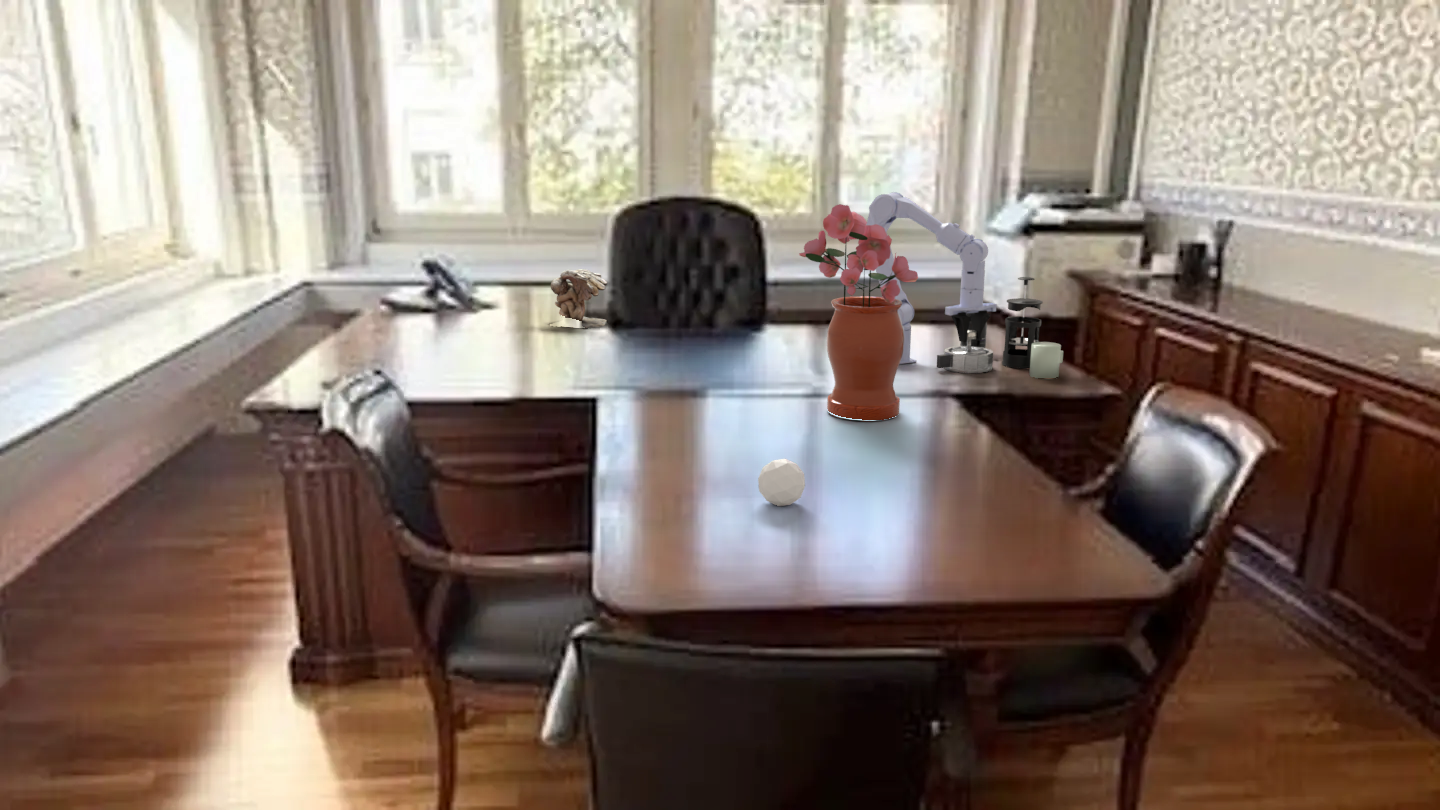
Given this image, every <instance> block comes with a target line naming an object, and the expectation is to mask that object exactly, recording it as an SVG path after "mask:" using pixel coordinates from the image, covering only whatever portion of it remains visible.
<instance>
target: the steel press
mask: <svg viewBox="0 0 1440 810" xmlns="http://www.w3.org/2000/svg"><path fill="white" fill-rule="evenodd" d="M958 348H967V346H960V345H955V346H949V347H946V348H944V352H943V354H937V355H936V368H937V369H945V370H946V371H948V372H952V371H953V373H958V372H959V373H960V374H969V373H976V374H983V373H982V372H986V373H989V372H991V371H992V369H993V363H994V351H993V350H992V349H990V348H987V347H986V348H983V347H974V346H971V348H973V349H980V350H984V351H986V354H981V355H963V354H956V353H952V352H951V350H953V349H958ZM990 370H991V371H990ZM988 371H989V372H988ZM959 373H958V374H959Z"/></svg>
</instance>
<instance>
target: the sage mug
mask: <svg viewBox="0 0 1440 810" xmlns="http://www.w3.org/2000/svg"><path fill="white" fill-rule="evenodd" d="M1061 349H1062V345H1061V344H1060V343H1056V342H1052V341H1051V342H1050V341H1039V342H1034V343H1032V345H1031V359H1030V369H1029V374H1028V375H1030V376H1029V377H1030V378H1033V377H1035V378H1034V379H1038V378H1056V377H1058V378H1059V376H1060V375H1059V373H1060V364H1063V361H1064V360H1063V359H1064V350H1061ZM1056 379H1057V378H1056Z"/></svg>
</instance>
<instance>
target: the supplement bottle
mask: <svg viewBox="0 0 1440 810" xmlns="http://www.w3.org/2000/svg"><path fill="white" fill-rule="evenodd" d="M966 315H967V316H969V317H971V314H970V313H966ZM968 330H972V320H971V319H970V322H969V326H968ZM987 330H988V321H987V322H986V324H985V326H984V328H983V330H982V333H981V336H980V339H979V341H975V340H971V346H974V347H983V348H987ZM959 343H960V345H959V346H967V341H966V342H961V341H960V342H959Z"/></svg>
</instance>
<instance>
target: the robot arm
mask: <svg viewBox="0 0 1440 810" xmlns="http://www.w3.org/2000/svg"><path fill="white" fill-rule="evenodd" d="M868 210H869V211H868V216H867V220H866V221H867V224H866V225H870V226H871V225H875V224H877V225H880V226H882V227H883V228H884V229H885V232H886V234H887V236H888V235H889V234H888V233H887V232H888V230H889V228H890V227H891V226H892V224H893V222H894V221H895V220H896V219H910V220H911V221H913V222H914V223H917V224H918V225H920V226H922V227H923V228H925V229H926V230H928V231H930V232H932V233H933V234H935V237H936V242H937V243H939V244H941V245H942V246H943V247H945V248H946V249H947V250H949V251H951V252H953V254H956V255H957V256H959V258H960V261H962V264H961V265H962V266H961V267H962V269H961V276H960V277H961V278H960V279H961V280H960V294H959V295H960V296H959V304H955V305H950V306H945V309H944V310H945V311H944V314H945V315H947V316H951V319H952V320H953V322H954V325H955V329H956V332H957V336H958V342H960V343H961V342H966V341H967V332H968V326H969V322H970V319H971V320H972V330H974V331H977V336H976V339H973V340H975V341H979V339H980V336H981V333H982V330H983V328H984V326H985V324H986V322H987V323H988V320H989V319H990V317H991V313H989V312H992V313H993V312H997V303H994V302H987V303H985V302H984V292H985V291H984V289H985V278H986V277H985V274H986V270H985V269H986V268H985V267H986V260H985V259H986V258H987V256H988V254H989V247H988V245H987V243H986V242H984V241H983V239H980V238H975V235H974V234H969V233H967V232H966V231H964V230H963V229H961V228H960V224H959V223H956V222H954V223H953V222H945V223H943V222H942V221H941V220H939V219H938V218H937V217H935V216H933V214H931V213H930V212H928V211H927V210H925V209H924V208H923V207H921V206H920V205H918V204H917V203H916V202H914V201H913V200H912V199H910V198H909V197H906V196H904V195H902V194H901V193H900V192H897V191H895V192H894V191H893V192H889V193H883V194H878V195H876V197H875V198H874V199H873V201H872V202H871V203H870V205H869V207H868ZM883 239H884V238H883ZM890 251H891V253H890V258H889V259H886V261H885V262H884V264H883V265H881V266H879V267H878V268H876V269H875V273H880V274H884V275H886V276H887V277H890V275H891V276H892V275H895V274H894V272H892V266H893V263H894V258H895V257H894V255H893V251H892V247H891V246H890ZM891 273H892V274H891ZM887 280H888V279H885V280H884V281H883V280H882V281H883V282H882V281H880V280H878V283H879V284H880V283H881V282H882V283H884V282H885V281H887ZM891 280H897V284H898V286H899V288H900V293H899V295H898V296H895V299H897V300H900V301H901V302H902V306H901V307H900V309H898V314H899V317H900V320H901V323H902V326H903V329H904V348H903V354H902V358H901V361H900V364H899V365H902V364H910V363H916V362H917V360H916V359H914V358H911V340H912V339H911V338H912V326H911V321H912V320H913V319H914V316H915V308H914V306H913V304H911V303H910V301H909V299H908V296H907V293H905V291H904V290H903V289H902V285H901V281H900V280H898V279H897V278H896V277H895V278H893V279H891ZM882 283H881V284H882ZM886 283H887V282H886ZM886 283H884V284H883V285H881V286H879V287H881V288H882V287H883V286H884V285H885V284H886ZM879 284H878V285H879ZM881 288H880V289H881ZM881 297H883V296H882V295H881ZM966 313H970V314H971V317H969V316H967V315H966Z"/></svg>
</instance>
